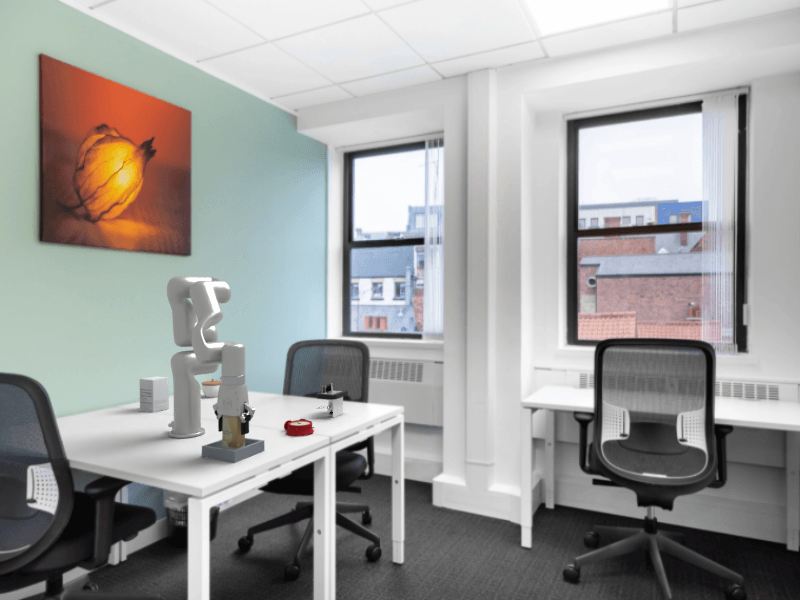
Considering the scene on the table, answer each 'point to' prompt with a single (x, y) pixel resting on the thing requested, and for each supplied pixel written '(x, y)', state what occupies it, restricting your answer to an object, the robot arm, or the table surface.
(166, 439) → the table surface
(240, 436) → the skincare box
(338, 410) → the black-topped pedestal
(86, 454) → the table surface
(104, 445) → the table surface
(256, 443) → the tray
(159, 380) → the supplement box
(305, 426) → the alarm clock
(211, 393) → the lidded jar
